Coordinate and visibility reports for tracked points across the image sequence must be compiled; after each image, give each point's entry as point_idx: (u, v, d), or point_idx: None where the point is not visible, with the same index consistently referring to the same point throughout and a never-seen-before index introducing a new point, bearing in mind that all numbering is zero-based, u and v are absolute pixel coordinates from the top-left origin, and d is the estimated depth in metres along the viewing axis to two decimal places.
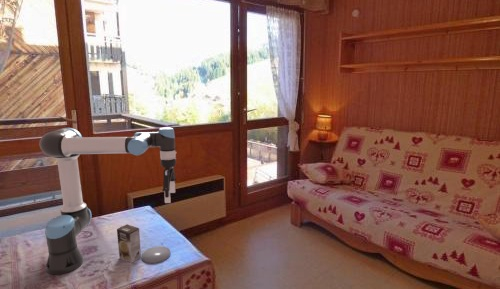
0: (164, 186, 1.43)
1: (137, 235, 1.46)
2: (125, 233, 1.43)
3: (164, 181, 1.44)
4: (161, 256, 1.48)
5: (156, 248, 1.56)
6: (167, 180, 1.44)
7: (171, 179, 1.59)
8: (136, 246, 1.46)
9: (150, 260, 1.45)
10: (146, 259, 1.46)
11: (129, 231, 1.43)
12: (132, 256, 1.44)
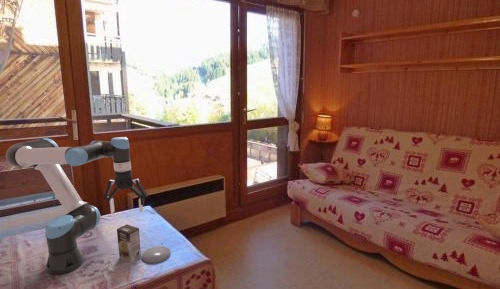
0: None
1: (137, 235, 1.46)
2: (125, 233, 1.42)
3: None
4: (161, 256, 1.48)
5: (156, 248, 1.56)
6: None
7: None
8: (136, 246, 1.46)
9: (150, 260, 1.45)
10: (146, 259, 1.46)
11: (129, 231, 1.43)
12: (132, 256, 1.44)
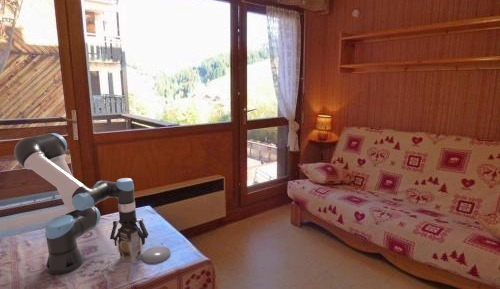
0: None
1: (138, 235, 1.46)
2: (126, 233, 1.43)
3: None
4: (161, 256, 1.48)
5: (156, 248, 1.56)
6: None
7: None
8: (137, 246, 1.46)
9: (150, 260, 1.45)
10: (146, 259, 1.46)
11: (130, 231, 1.43)
12: (133, 256, 1.45)
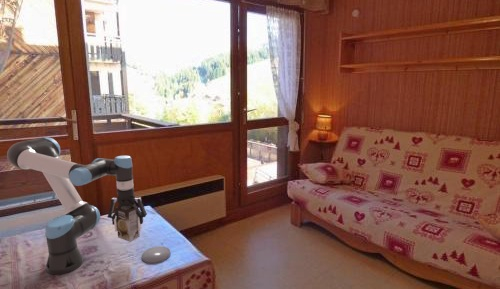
0: None
1: (136, 214, 1.44)
2: (124, 211, 1.40)
3: None
4: (161, 256, 1.48)
5: (156, 248, 1.56)
6: (110, 207, 1.42)
7: None
8: (135, 225, 1.44)
9: (150, 260, 1.45)
10: (146, 259, 1.46)
11: (128, 209, 1.41)
12: (130, 235, 1.42)
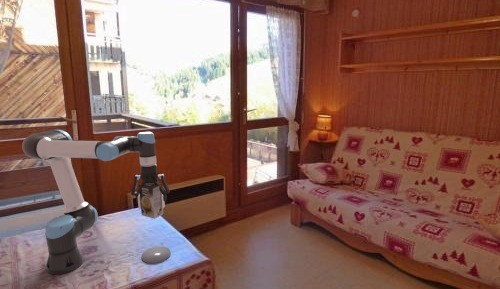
0: None
1: None
2: (148, 188, 1.40)
3: None
4: (161, 256, 1.48)
5: (156, 248, 1.56)
6: (133, 185, 1.42)
7: None
8: (159, 202, 1.43)
9: (150, 260, 1.45)
10: (146, 259, 1.46)
11: (152, 186, 1.40)
12: (155, 212, 1.42)
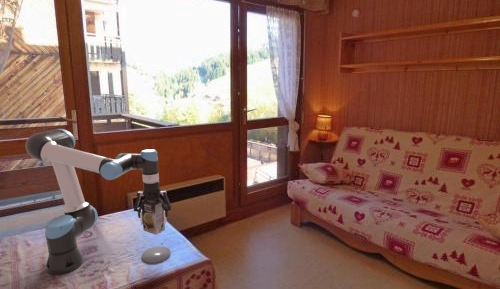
0: None
1: None
2: (150, 204, 1.42)
3: None
4: (161, 256, 1.48)
5: (156, 248, 1.56)
6: (136, 201, 1.44)
7: None
8: (161, 219, 1.45)
9: (150, 260, 1.45)
10: (146, 259, 1.46)
11: (154, 202, 1.42)
12: (156, 228, 1.44)
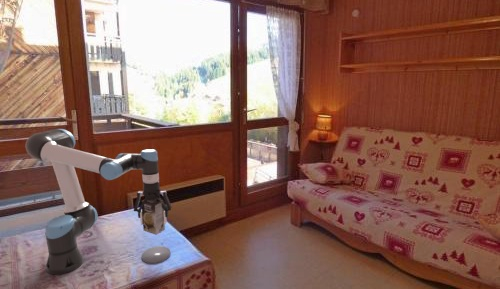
0: None
1: None
2: (150, 204, 1.42)
3: None
4: (161, 256, 1.48)
5: (156, 248, 1.56)
6: (136, 201, 1.44)
7: None
8: (161, 219, 1.45)
9: (150, 260, 1.45)
10: (146, 259, 1.46)
11: (154, 202, 1.42)
12: (156, 228, 1.44)
